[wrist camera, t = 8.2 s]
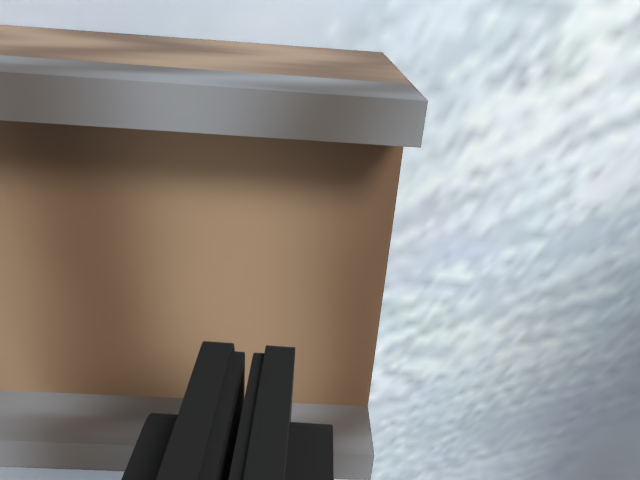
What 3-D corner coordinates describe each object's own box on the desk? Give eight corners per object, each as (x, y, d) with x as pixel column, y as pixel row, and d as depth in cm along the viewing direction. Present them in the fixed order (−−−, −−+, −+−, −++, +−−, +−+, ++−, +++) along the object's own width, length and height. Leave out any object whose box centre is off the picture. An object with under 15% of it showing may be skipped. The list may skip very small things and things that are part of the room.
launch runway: (382, 52, 19) (427, 100, 12) (351, 325, 24) (370, 480, 16) (-107, 17, 18) (-381, 45, 11) (-39, 305, 23) (-199, 458, 16)
